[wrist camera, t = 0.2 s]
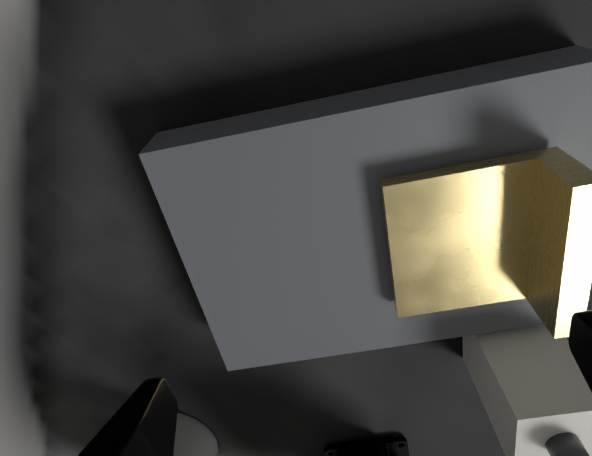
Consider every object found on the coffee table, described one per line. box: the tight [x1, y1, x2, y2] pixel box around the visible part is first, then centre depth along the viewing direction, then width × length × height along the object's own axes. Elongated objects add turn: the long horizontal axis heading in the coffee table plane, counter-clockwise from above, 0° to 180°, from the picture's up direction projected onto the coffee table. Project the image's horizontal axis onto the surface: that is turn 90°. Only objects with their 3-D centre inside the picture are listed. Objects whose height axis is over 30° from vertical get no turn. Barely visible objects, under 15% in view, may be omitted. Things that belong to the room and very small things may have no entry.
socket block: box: [139, 45, 592, 371], centre depth 23 cm, size 14×20×3 cm
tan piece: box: [380, 146, 592, 339], centre depth 20 cm, size 8×8×4 cm
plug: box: [463, 325, 592, 456], centre depth 25 cm, size 4×4×10 cm
